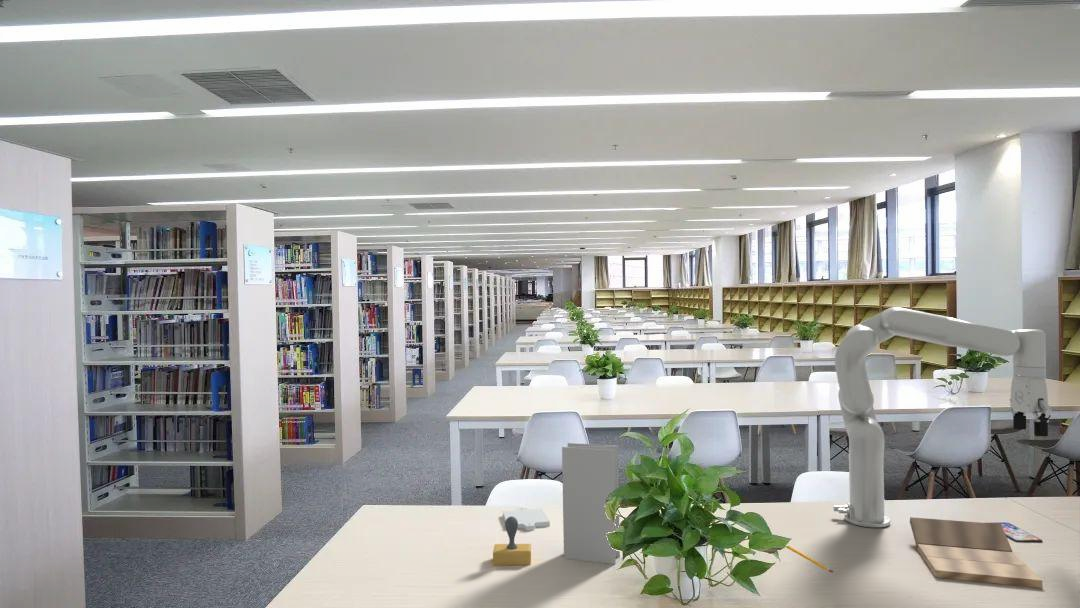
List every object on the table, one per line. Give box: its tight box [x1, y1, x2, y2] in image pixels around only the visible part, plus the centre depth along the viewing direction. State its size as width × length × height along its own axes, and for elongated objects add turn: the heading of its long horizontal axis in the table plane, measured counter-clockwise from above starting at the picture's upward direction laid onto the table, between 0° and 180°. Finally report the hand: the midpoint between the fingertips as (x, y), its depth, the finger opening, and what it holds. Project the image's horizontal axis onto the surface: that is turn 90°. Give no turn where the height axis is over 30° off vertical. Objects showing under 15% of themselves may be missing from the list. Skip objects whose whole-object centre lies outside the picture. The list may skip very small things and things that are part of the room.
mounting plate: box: [502, 507, 551, 532], centre depth 205 cm, size 18×13×2 cm
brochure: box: [561, 442, 621, 565], centre depth 175 cm, size 14×6×30 cm, turn 71°
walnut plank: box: [909, 516, 1013, 552], centre depth 177 cm, size 22×9×2 cm, turn 72°
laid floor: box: [917, 544, 1043, 589], centre depth 164 cm, size 22×18×2 cm
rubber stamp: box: [492, 516, 532, 566], centre depth 174 cm, size 10×6×12 cm, turn 89°
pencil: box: [786, 545, 834, 573], centre depth 173 cm, size 1×19×1 cm, turn 15°
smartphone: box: [991, 522, 1043, 543], centre depth 188 cm, size 8×1×15 cm
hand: (1030, 432), depth 185 cm, fingers open, 9 cm apart
